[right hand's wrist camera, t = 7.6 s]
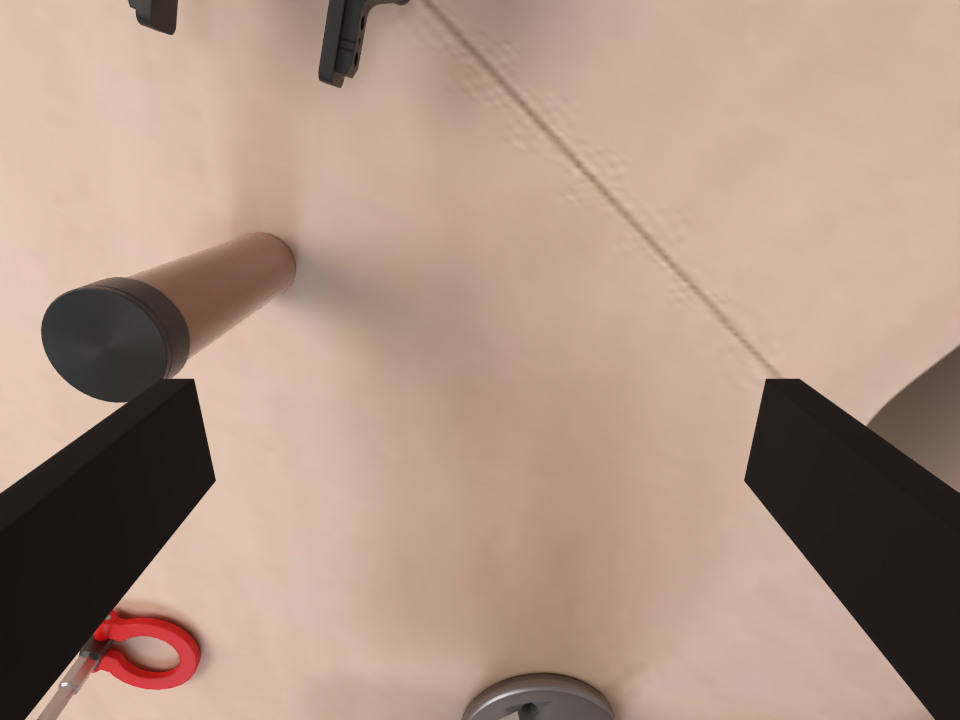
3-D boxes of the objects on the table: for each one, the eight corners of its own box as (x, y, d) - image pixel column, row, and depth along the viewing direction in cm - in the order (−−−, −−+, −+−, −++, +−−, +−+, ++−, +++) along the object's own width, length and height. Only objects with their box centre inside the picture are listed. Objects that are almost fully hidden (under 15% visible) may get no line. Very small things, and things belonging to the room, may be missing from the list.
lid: (174, 273, 22) (146, 283, 20) (203, 380, 23) (181, 399, 22) (58, 280, 22) (21, 292, 20) (96, 387, 24) (65, 406, 22)
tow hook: (212, 629, 48) (106, 599, 47) (133, 789, 37) (-14, 758, 35) (189, 687, 51) (88, 661, 49) (109, 854, 39) (-28, 828, 38)
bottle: (289, 230, 35) (149, 287, 20) (301, 293, 37) (180, 390, 22) (224, 234, 35) (38, 294, 21) (239, 297, 37) (76, 396, 22)
